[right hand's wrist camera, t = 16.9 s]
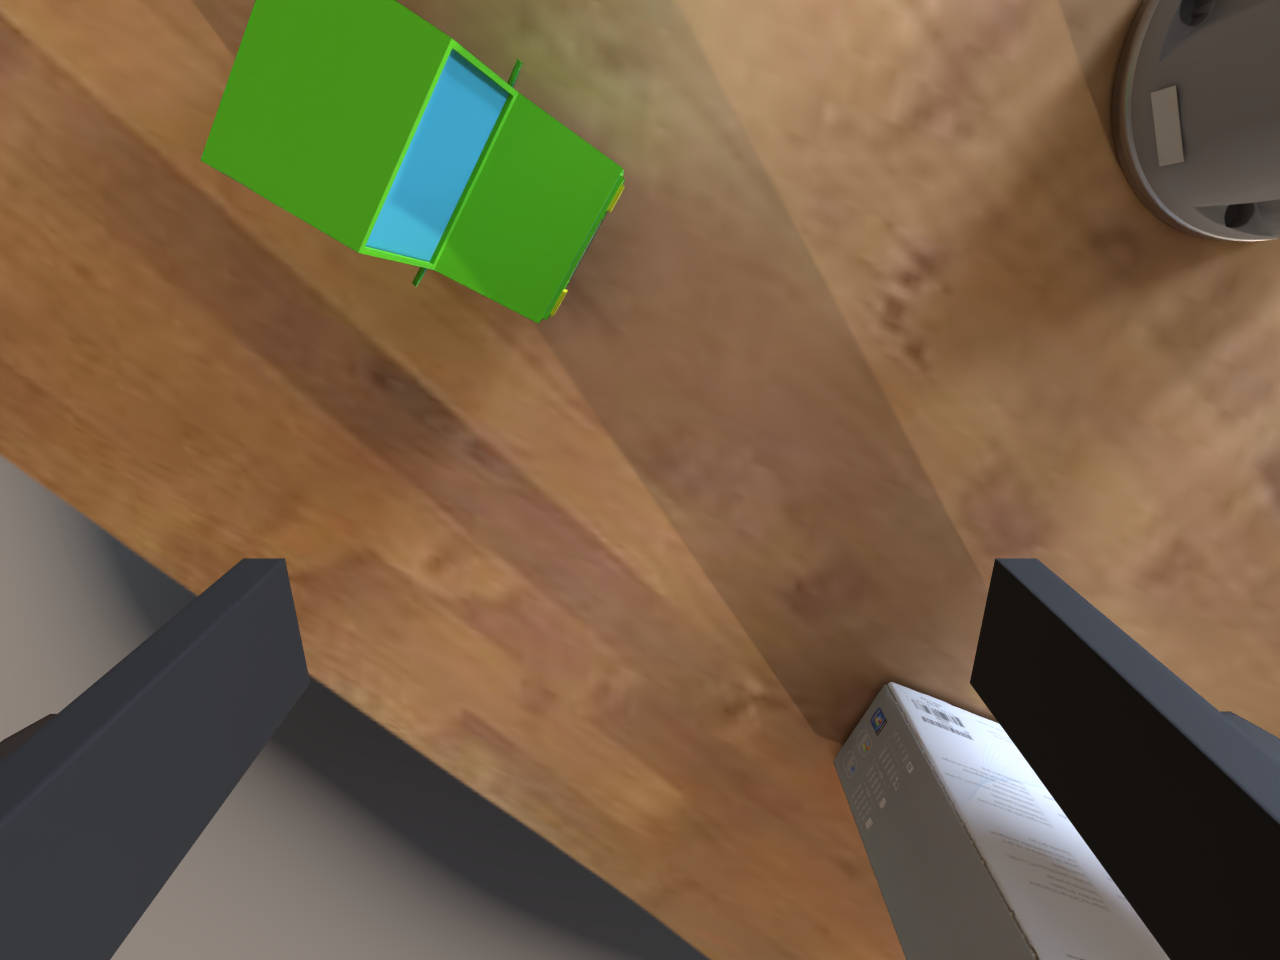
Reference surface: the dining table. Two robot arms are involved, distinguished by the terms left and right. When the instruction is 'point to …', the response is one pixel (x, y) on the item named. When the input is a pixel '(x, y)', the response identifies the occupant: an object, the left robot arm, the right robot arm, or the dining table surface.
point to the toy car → (410, 149)
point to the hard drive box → (976, 842)
